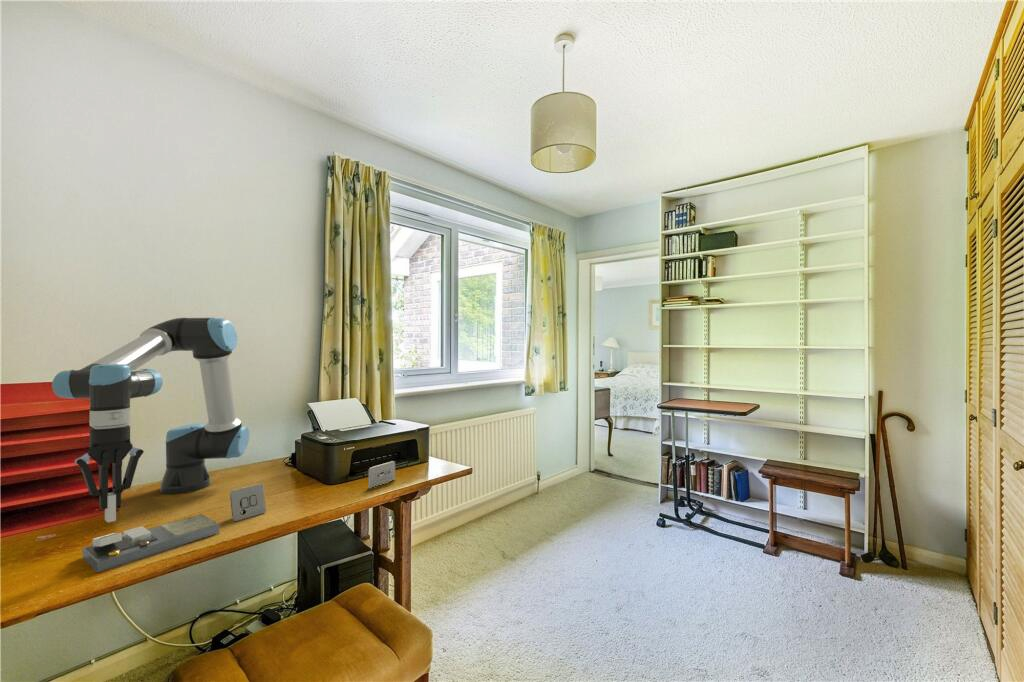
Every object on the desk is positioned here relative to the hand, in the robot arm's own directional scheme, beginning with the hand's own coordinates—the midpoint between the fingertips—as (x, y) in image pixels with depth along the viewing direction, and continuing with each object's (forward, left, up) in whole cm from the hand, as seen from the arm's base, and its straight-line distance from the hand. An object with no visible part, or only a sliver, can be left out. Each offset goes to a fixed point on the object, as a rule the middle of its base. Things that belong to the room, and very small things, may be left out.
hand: (110, 520), depth 110 cm
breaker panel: (-2, +10, -10) cm, 14 cm away
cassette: (+9, +77, -11) cm, 78 cm away
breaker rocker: (-3, 0, -6) cm, 6 cm away
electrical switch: (-2, +33, -11) cm, 35 cm away
